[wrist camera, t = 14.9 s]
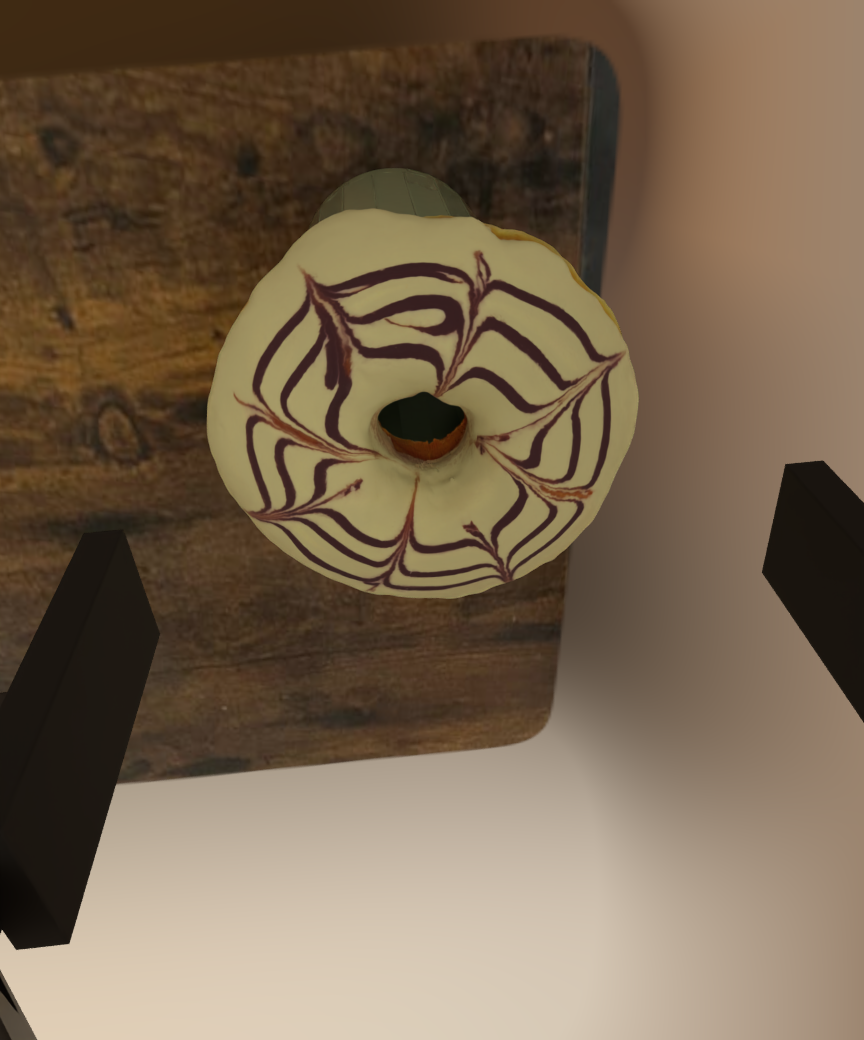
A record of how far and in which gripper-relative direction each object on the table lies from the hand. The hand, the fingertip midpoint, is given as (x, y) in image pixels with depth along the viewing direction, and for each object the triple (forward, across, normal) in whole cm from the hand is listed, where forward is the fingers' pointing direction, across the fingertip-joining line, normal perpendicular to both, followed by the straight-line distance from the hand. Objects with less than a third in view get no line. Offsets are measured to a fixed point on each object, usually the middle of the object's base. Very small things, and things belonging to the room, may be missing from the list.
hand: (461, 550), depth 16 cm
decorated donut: (+8, 0, 0) cm, 8 cm away
